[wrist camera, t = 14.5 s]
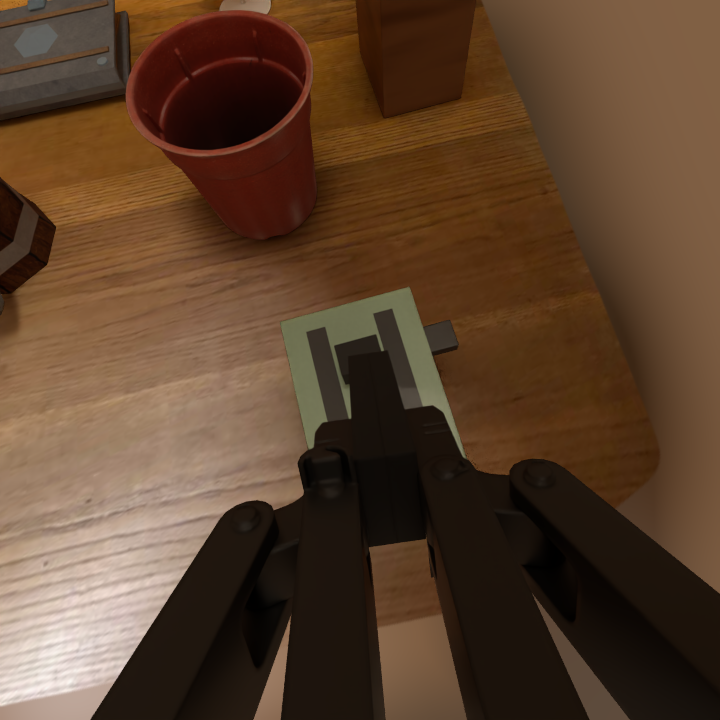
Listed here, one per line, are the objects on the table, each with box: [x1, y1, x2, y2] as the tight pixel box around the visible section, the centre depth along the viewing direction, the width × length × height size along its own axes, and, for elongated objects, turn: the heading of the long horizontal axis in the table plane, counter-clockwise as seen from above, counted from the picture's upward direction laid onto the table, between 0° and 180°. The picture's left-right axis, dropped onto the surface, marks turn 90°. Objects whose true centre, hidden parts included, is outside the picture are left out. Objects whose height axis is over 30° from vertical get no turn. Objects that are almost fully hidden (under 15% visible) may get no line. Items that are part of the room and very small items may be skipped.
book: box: [0, 0, 130, 120], centre depth 62 cm, size 21×16×5 cm
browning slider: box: [334, 334, 381, 385], centre depth 34 cm, size 2×3×3 cm
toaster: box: [280, 287, 467, 459], centre depth 40 cm, size 16×14×11 cm
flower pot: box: [126, 10, 317, 240], centre depth 47 cm, size 16×16×16 cm
